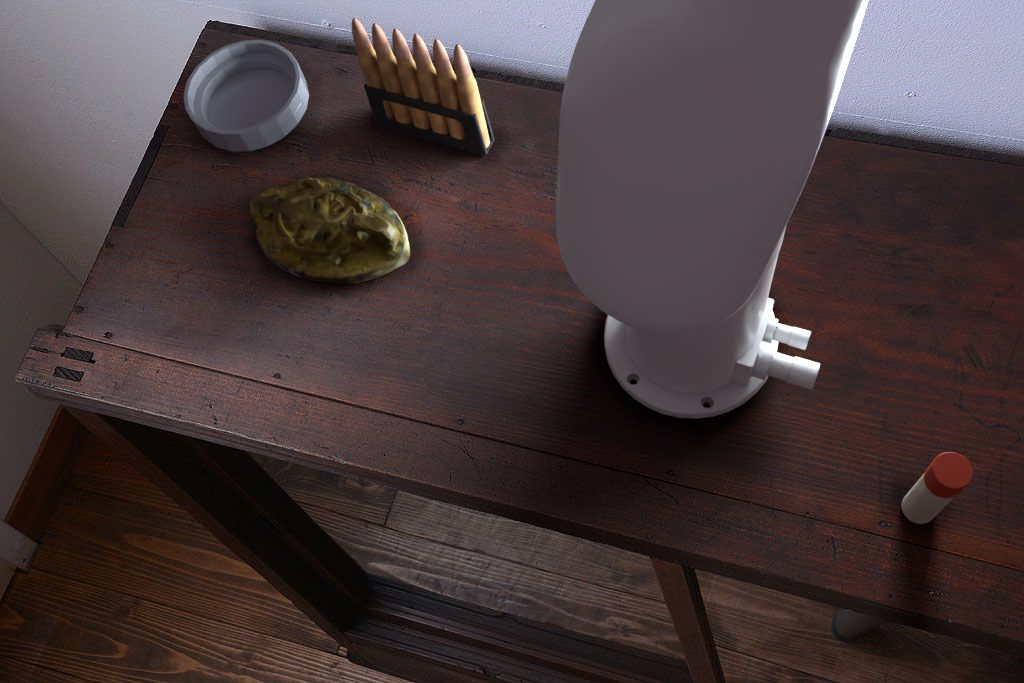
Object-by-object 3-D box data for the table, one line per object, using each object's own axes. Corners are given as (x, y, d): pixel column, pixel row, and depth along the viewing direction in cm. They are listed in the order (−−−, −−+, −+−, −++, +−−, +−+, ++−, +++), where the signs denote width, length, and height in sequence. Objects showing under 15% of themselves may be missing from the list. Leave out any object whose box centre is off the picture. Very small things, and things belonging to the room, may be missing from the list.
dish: (329, 77, 88) (320, 53, 85) (276, 167, 84) (264, 146, 81) (232, 52, 91) (220, 29, 88) (176, 139, 87) (162, 117, 84)
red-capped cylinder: (939, 498, 65) (976, 458, 58) (932, 529, 64) (969, 494, 57) (904, 486, 66) (936, 446, 59) (896, 518, 65) (928, 481, 58)
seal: (232, 262, 81) (392, 308, 77) (207, 238, 77) (375, 285, 73) (277, 167, 84) (434, 207, 80) (254, 138, 80) (419, 178, 76)
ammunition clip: (495, 139, 83) (473, 38, 72) (486, 156, 82) (463, 57, 71) (385, 108, 85) (348, 6, 75) (375, 124, 85) (337, 24, 74)
